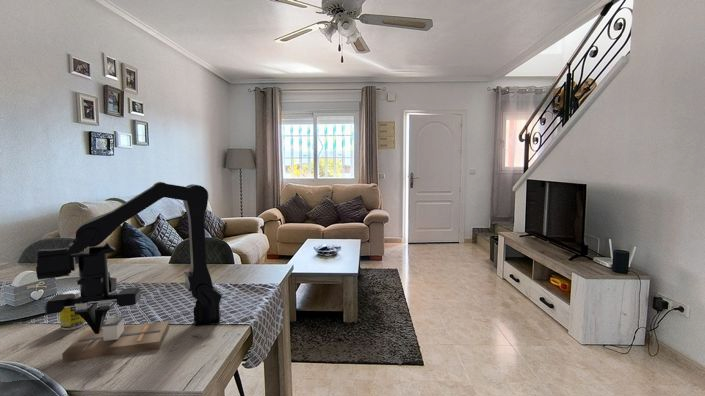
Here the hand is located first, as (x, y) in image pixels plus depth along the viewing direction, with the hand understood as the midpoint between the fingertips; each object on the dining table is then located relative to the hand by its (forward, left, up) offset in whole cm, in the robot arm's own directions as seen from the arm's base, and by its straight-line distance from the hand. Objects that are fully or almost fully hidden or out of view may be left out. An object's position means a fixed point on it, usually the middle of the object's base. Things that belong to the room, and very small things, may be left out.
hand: (97, 333), depth 89 cm
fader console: (-5, 0, -3) cm, 6 cm away
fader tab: (-3, 0, -1) cm, 4 cm away
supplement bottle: (+11, -15, -4) cm, 19 cm away
